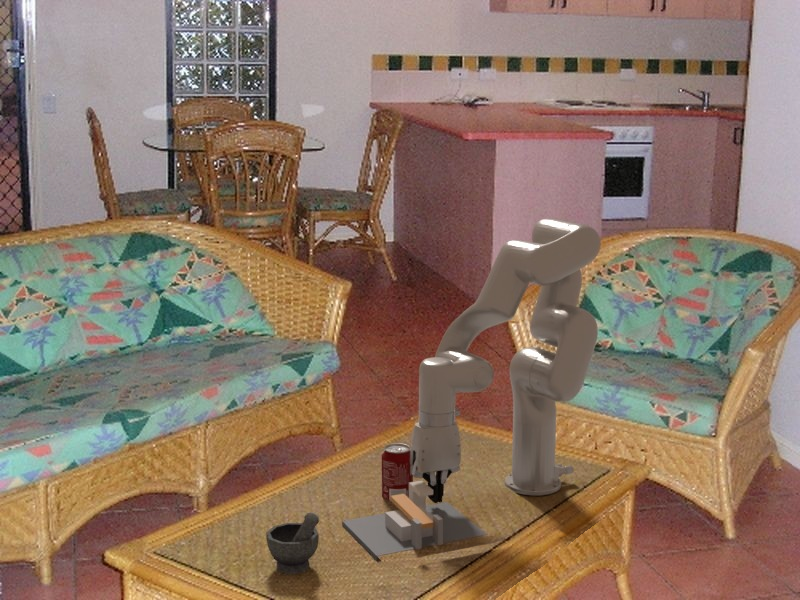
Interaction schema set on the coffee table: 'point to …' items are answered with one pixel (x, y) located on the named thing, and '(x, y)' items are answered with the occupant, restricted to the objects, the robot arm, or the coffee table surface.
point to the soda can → (396, 470)
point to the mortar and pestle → (294, 544)
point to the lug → (419, 493)
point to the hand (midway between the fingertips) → (435, 500)
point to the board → (391, 544)
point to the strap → (411, 510)
